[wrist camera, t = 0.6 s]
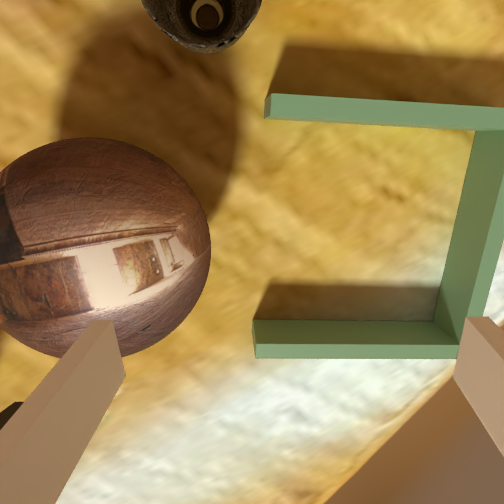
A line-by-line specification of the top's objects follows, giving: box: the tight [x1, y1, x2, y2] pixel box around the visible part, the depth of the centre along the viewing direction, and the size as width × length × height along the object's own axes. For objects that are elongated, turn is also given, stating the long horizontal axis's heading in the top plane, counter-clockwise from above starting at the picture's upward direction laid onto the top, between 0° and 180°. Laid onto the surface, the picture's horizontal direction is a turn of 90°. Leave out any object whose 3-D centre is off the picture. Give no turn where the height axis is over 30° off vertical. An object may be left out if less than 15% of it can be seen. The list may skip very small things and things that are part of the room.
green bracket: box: [252, 93, 504, 359], centre depth 32 cm, size 20×22×4 cm
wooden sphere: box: [0, 138, 211, 358], centre depth 25 cm, size 15×15×15 cm
